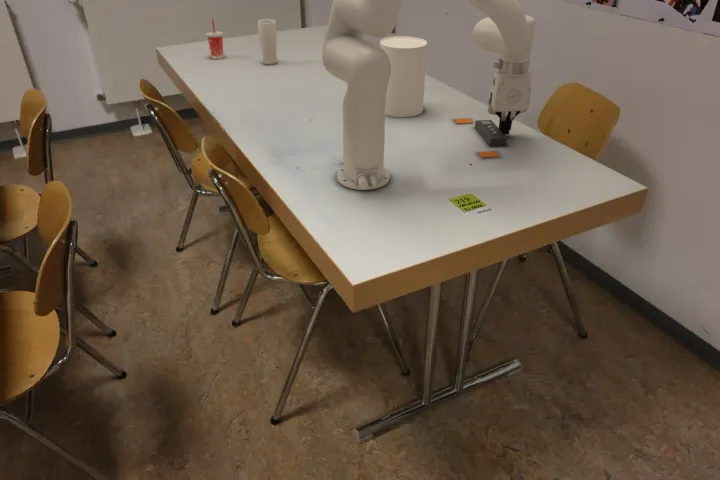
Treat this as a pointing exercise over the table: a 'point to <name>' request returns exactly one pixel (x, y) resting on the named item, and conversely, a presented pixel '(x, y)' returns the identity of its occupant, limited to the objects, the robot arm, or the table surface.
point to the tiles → (482, 154)
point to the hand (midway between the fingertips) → (504, 132)
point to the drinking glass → (268, 40)
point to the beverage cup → (215, 43)
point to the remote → (490, 133)
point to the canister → (405, 75)
